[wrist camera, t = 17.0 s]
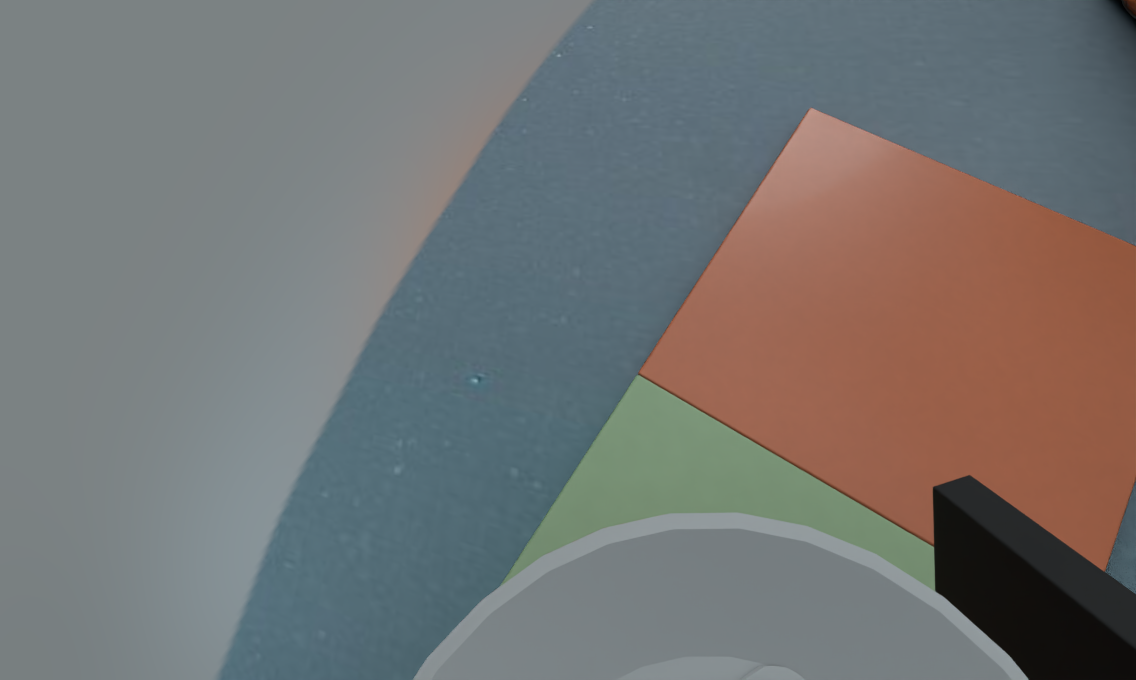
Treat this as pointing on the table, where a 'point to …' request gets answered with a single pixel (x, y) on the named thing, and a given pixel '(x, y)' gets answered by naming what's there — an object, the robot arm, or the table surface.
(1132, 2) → the tankard
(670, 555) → the canned food
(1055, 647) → the robot arm
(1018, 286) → the board
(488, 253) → the table surface
